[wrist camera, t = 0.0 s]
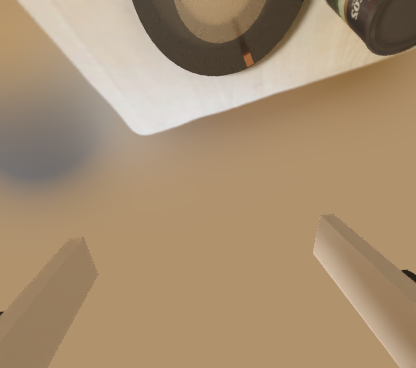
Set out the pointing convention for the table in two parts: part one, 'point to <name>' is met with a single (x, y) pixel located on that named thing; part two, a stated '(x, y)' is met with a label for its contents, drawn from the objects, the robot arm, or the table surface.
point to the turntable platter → (216, 31)
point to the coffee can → (380, 23)
